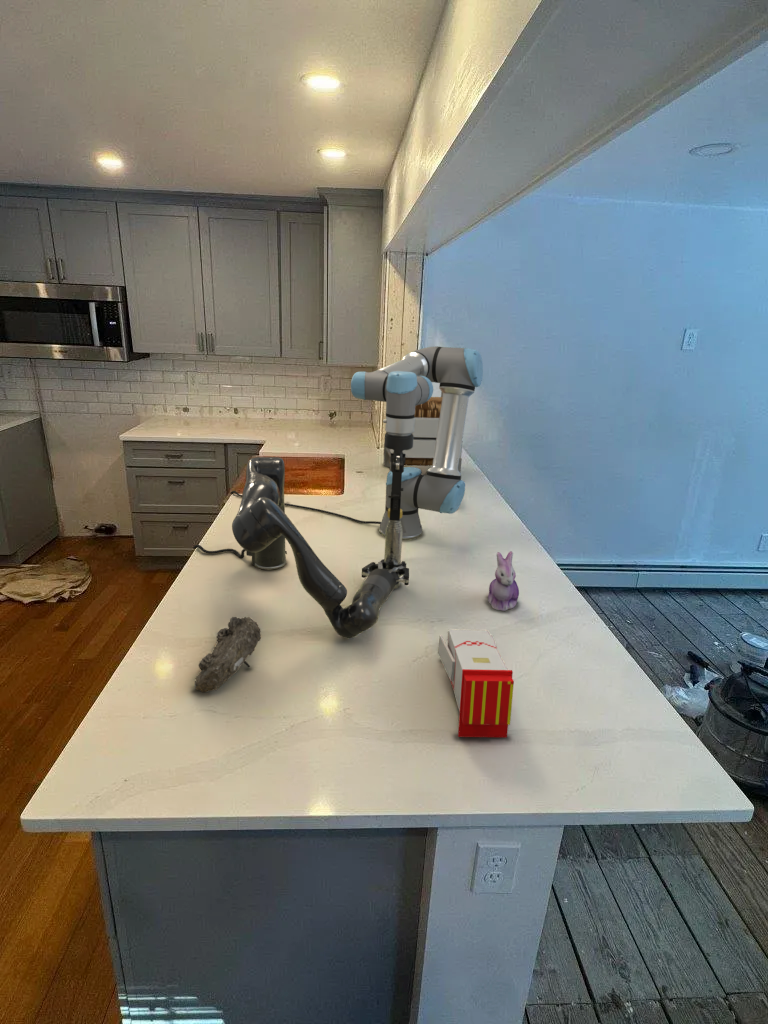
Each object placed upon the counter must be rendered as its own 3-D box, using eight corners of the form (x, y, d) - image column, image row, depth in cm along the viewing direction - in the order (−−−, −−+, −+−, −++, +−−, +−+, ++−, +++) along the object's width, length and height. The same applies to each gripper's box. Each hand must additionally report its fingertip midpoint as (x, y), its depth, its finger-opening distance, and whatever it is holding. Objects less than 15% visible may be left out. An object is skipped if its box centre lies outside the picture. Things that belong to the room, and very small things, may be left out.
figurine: (500, 615, 149) (507, 563, 144) (477, 598, 157) (483, 548, 152) (528, 608, 153) (536, 557, 148) (504, 591, 161) (510, 543, 156)
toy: (488, 613, 130) (523, 677, 101) (484, 667, 133) (517, 744, 104) (435, 612, 130) (455, 676, 101) (432, 666, 133) (451, 743, 103)
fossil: (214, 619, 133) (260, 589, 128) (241, 647, 136) (288, 619, 131) (174, 686, 113) (226, 654, 108) (207, 716, 116) (260, 687, 111)
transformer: (382, 463, 289) (386, 382, 275) (445, 464, 293) (451, 384, 279) (390, 482, 257) (394, 392, 243) (460, 483, 261) (468, 394, 247)
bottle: (399, 589, 160) (403, 515, 153) (382, 588, 160) (386, 514, 153) (399, 582, 165) (403, 509, 157) (383, 581, 165) (386, 508, 157)
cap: (384, 515, 156) (385, 508, 156) (397, 513, 158) (398, 506, 157) (391, 520, 153) (392, 513, 152) (404, 518, 155) (405, 511, 154)
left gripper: (404, 580, 144) (419, 554, 160) (351, 570, 148) (371, 546, 164) (402, 606, 147) (418, 578, 162) (350, 596, 151) (370, 570, 166)
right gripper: (386, 425, 156) (382, 506, 164) (383, 439, 140) (379, 527, 148) (413, 427, 155) (408, 507, 163) (414, 440, 139) (408, 529, 147)
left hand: (394, 562), depth 163 cm, fingers closed on bottle, 4 cm apart
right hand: (394, 516), depth 155 cm, fingers closed on cap, 4 cm apart
